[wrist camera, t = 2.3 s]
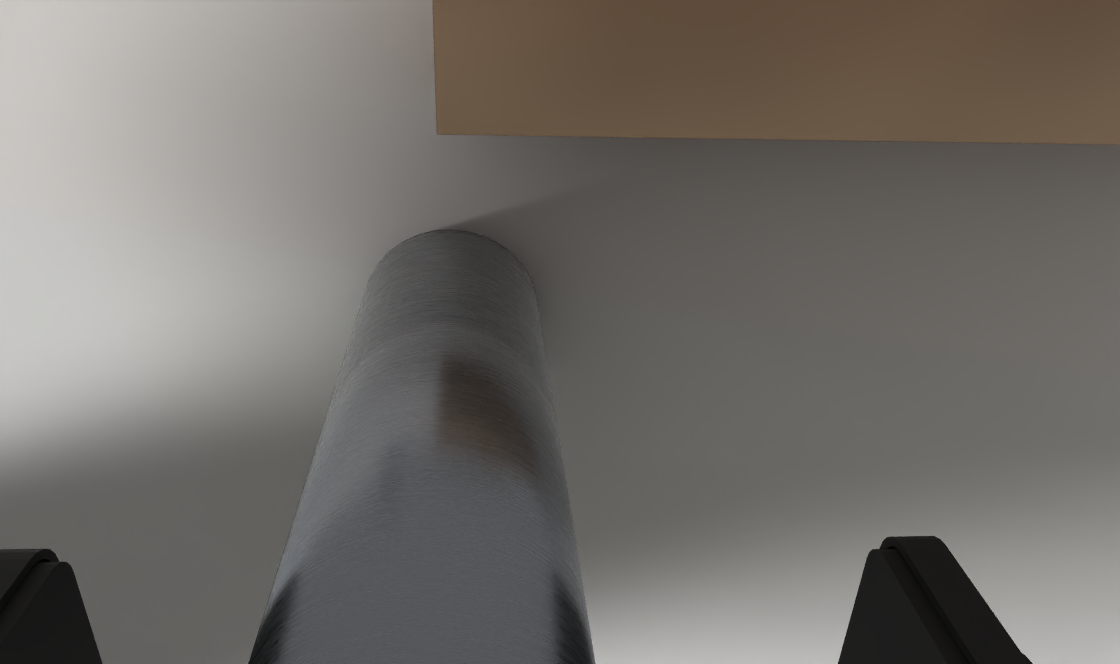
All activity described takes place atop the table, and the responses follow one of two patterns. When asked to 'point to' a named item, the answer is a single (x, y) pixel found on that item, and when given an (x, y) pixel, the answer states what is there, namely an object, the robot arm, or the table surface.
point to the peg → (435, 481)
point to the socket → (781, 69)
